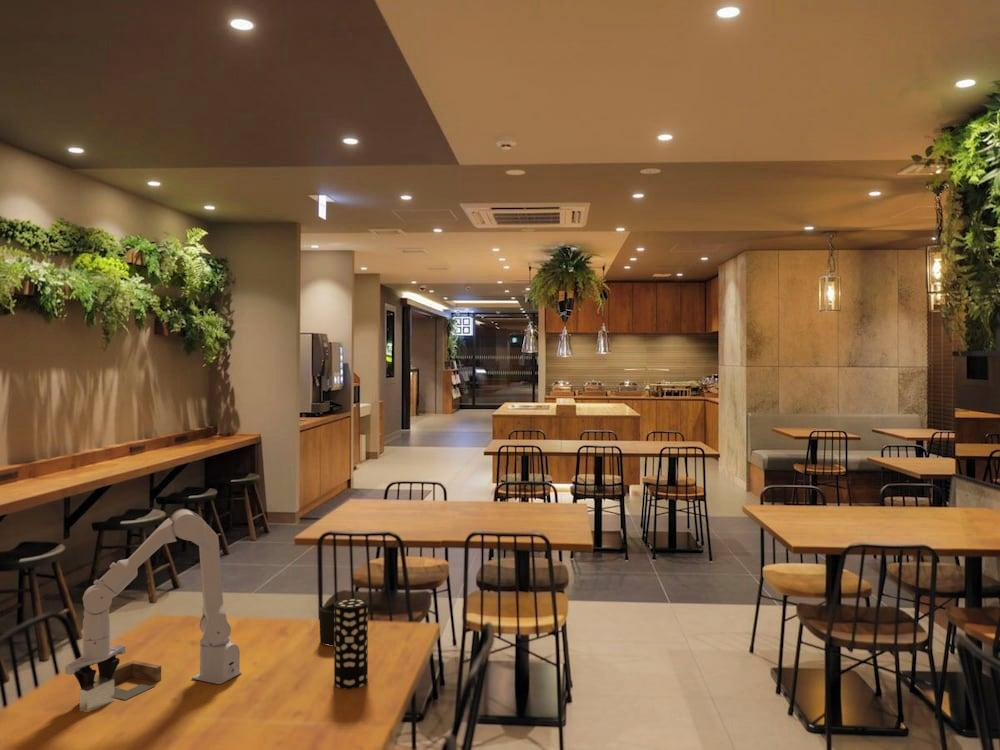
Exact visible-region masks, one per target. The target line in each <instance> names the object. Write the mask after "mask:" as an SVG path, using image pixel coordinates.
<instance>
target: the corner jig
mask: <svg viewBox="0 0 1000 750" xmlns="http://www.w3.org/2000/svg"><path fill="white" fill-rule="evenodd" d="M96 676H99V674H97V675H96ZM131 678H136V679H140V680H146V681H151V682H154V683H157V682H159V681H162V665H158V664H155V663H154V664H153V663H148V662H142V661H139V660H138V661H137V660H130V661H129V662H127V663H124V664H122V665H120V666H119V665H118V666H117V667H116V669H115V671H114V674H113V676H112V679H114V686H115V685H117V684H119V683H122V682H124V681H127V680H129V679H131Z"/></svg>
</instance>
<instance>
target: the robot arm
mask: <svg viewBox="0 0 1000 750" xmlns="http://www.w3.org/2000/svg"><path fill="white" fill-rule="evenodd" d="M176 537H177V538H179V539H182V540H184V541H190V542H192V543H194V544H195V545H196V546H198V550H199V562H200V563H199V564H200V578H201V589H202V592H201V593H202V604H203V605H202V610H201V611H202V616H201V619H200V621H199V629H200V631H201V632H202V635H203V636H201V639H200V640H199V673H196V674H195V675H193V676H192V677H191V679H193V680H197V681H201V682H206V683H211V684H217V685H221V684H223V683H225V682H227V681H229V680H231V679H233V678H235V677H237V676H238V675H240V674H242V673H243V671H242V670H240V667H241V666H240V660H241V659H240V656H241V654H240V648H239V646H238V645H237V644H236V643H233V642H232V641H231V634H232V633H231V631H232V628H231V624H230V623H229V622H228V620H227V614H226V609H225V606H224V595H223V582H222V569H221V568H222V567H221V553H220V552H221V551H220V541H219V539H220V538H219V535H218V534H217V533H216V532H215V531H214V530H213V529H212V527H211V526H210V525H209V524H207V522H206V521H205V520H204V519H203V518H202V517H201V516H200V515H199V514H197V513H195V512H194V511H192V510H190V509H187V508H180V509H178V510H176V511H174V512H173V514H172V515H171V516H170V517H168V518H167V519H165V520H164V521H163V522H162V523H161V524H160V525H158V527H157V528H156V529H155V530H154V531H153V532H152V533H151V534H150V535H149V536H148V537H147V538H146V539H145V540H144V542H143V543H142V544H141V545H139V546H138V548H137V549H135V551H134V552H133V553H132V554H131V555H130V556H129V557H128V558H126V559H119V560H118V561H116V563H115V562H114V561H113V562H112V563H111V564H110V565H109V569H108V570H107V572H105V574H103V575H102V577H100V578H99V579H95V580H94V581H93V585H91V586H89V587H88V588H86V590H85V591H84V594H83V596H82V598H81V599H82V603H83V608H84V610H83V618H82V654H81V656H80V657H78V658H77V659H75V660H73V661H72V662H70V663H68V664H65V667H64V670H65V672H64V673H65V674H66V675H69V676H72V675H74V677H75V679H76V680H77V681H78V684H79V686H80V689H82V688H84V687H87V686H89V685H92V684H93V682H94V677H95V676H96V673H97V669H98V673H99V674H98V675H99V676H100V677H105V678H110V679H112V676H113V674H114V671H115V669H116V668H117V667H119V664H120V663H121V662H120V658H119V657H117V656H119V655H124V654H126V645H124V644H117V645H115V646H111V614H110V607H111V606H112V602H113V599H114V597H117V596H118V595H119V594H120V593H121V592H122V591H123V590H125V588H126V587H127V586H128V585H130V584H131V582H132V581H134V579H136V578H137V576H138V568H139V567H141V565H142V564H144V563H145V562H146V561H147V560H148V559H149V558H150V557H151V556H152V555H153V554H155V552H157V550H159V549H160V548H161V547H162V546H163V545H165V544H170V543H175V542H177V541H178V540H177V539H176ZM94 665H96V666H97V669H92V666H94Z"/></svg>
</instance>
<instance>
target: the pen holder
mask: <svg viewBox="0 0 1000 750" xmlns="http://www.w3.org/2000/svg"><path fill="white" fill-rule="evenodd" d="M334 604H335V602H332V603H331V604H328V605H326V606H325V607H321V606H320V607H318V613H319V614H318V615H319V616H318V617H319V620H318V621H319V641H320V643H321V642H322V643H324V644H329V645H334ZM322 643H321V644H322Z"/></svg>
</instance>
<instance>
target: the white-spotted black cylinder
mask: <svg viewBox="0 0 1000 750" xmlns="http://www.w3.org/2000/svg"><path fill="white" fill-rule="evenodd" d="M334 603H335V604H334V646H333V647H334V648H333V650H334V653H333V655H334V656H333V659H334V660H333V661H334V662H333V663H334V664H333V665H334V667H333V675H334V678H333V681H334V683H333V684H335V685H334V687H336V686H337V688H338V687H339V688H338V689H342V688H344V689H343V690H351V689H353V688H354V689H358V688H361V687H363V686H365V685H366V684H367V683H368V679H369V678H368V676H369V675H368V673H369V671H368V670H369V669H368V667H369V666H368V664H369V663H368V661H369V660H368V659H369V658H368V657H369V653H368V651H369V649H368V648H369V647H368V646H369V645H368V644H369V643H368V642H369V641H368V637H369V636H368V634H369V632H368V631H369V630H368V628H369V627H368V625H369V623H368V622H369V617H368V616H369V615H368V614H369V606H368V605H369V602H368V600H367V599H365V598H357V597H351V598H344V599H339V600H337V601H335V602H334Z"/></svg>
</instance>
